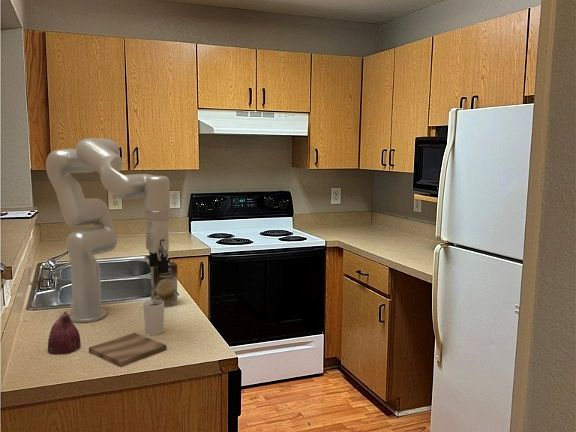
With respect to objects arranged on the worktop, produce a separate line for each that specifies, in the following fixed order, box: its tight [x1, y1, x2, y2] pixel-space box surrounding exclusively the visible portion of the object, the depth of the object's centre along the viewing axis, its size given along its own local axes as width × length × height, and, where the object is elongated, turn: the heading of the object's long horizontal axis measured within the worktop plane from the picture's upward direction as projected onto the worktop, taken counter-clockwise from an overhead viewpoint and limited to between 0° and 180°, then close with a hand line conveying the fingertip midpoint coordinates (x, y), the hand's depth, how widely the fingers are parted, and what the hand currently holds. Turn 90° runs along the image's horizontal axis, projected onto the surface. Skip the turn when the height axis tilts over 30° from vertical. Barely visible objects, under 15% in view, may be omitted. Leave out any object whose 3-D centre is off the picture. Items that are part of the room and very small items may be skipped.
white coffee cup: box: [142, 299, 165, 336], centre depth 170 cm, size 7×7×10 cm
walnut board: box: [88, 332, 168, 368], centre depth 154 cm, size 16×16×2 cm
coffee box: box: [150, 261, 178, 308], centre depth 199 cm, size 9×6×16 cm
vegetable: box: [47, 311, 81, 355], centre depth 154 cm, size 10×9×14 cm
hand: (158, 269), depth 162 cm, fingers open, 9 cm apart
